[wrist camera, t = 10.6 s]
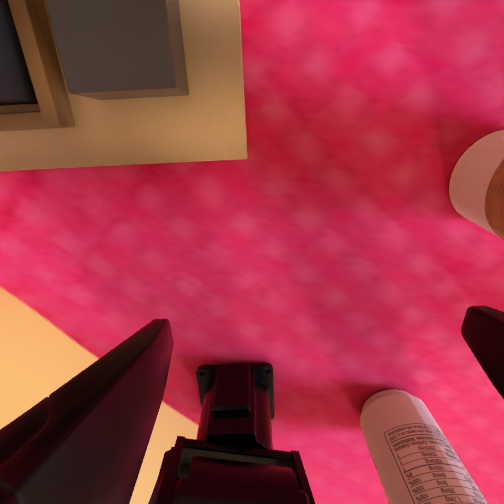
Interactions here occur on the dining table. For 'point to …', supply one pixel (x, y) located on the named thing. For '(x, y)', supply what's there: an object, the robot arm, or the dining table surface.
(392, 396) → the energy drink can
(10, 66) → the dark rectangular block
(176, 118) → the backing board
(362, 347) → the dining table surface
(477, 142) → the coffee cup
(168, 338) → the robot arm
